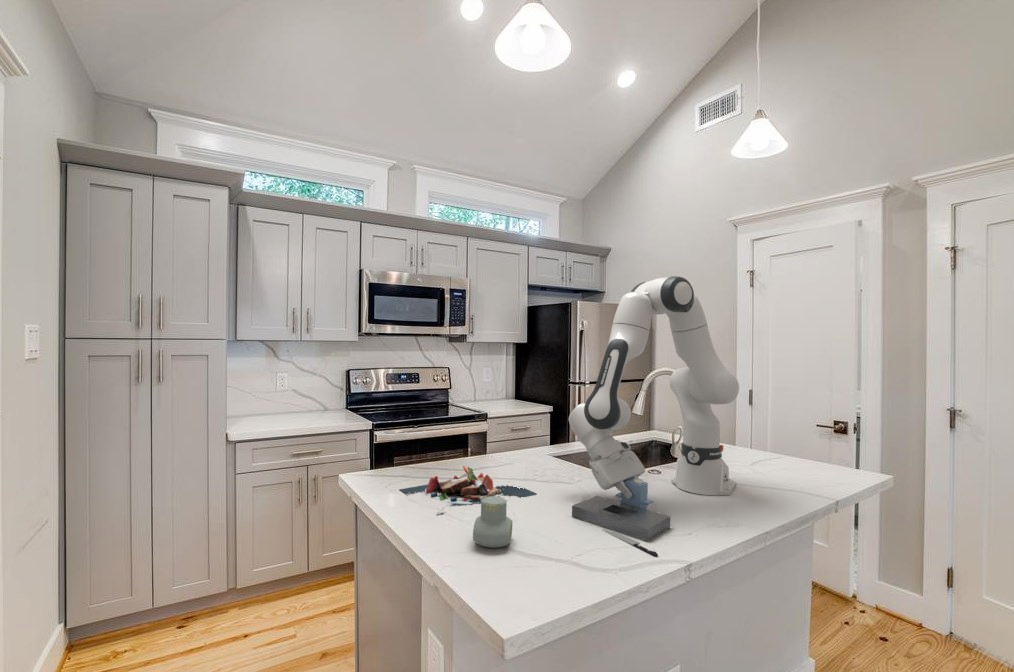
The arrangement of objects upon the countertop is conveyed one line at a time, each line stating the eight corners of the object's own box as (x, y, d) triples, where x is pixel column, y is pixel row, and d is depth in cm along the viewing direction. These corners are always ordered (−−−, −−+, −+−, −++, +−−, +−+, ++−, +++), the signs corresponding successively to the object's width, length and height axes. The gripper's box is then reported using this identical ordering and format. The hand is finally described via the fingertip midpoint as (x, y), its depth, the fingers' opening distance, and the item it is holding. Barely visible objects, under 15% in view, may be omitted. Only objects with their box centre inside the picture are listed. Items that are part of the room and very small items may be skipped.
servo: (621, 504, 144) (622, 473, 144) (653, 513, 137) (654, 481, 137) (614, 507, 141) (615, 476, 141) (646, 516, 134) (647, 484, 134)
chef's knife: (605, 528, 127) (596, 529, 126) (605, 523, 127) (597, 524, 126) (665, 556, 111) (655, 558, 109) (665, 551, 111) (656, 553, 110)
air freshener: (479, 532, 121) (480, 491, 121) (512, 534, 120) (513, 493, 120) (471, 552, 110) (472, 507, 110) (508, 554, 109) (509, 509, 109)
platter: (435, 519, 131) (435, 485, 131) (396, 494, 153) (396, 464, 153) (539, 498, 151) (540, 468, 151) (491, 478, 173) (492, 452, 173)
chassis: (596, 506, 142) (596, 495, 142) (670, 528, 127) (670, 516, 127) (571, 516, 133) (572, 505, 133) (647, 541, 118) (648, 529, 118)
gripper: (593, 453, 136) (624, 497, 130) (630, 442, 151) (660, 481, 145) (579, 466, 139) (609, 509, 133) (617, 454, 154) (645, 493, 148)
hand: (636, 494), depth 139 cm, fingers open, 4 cm apart
